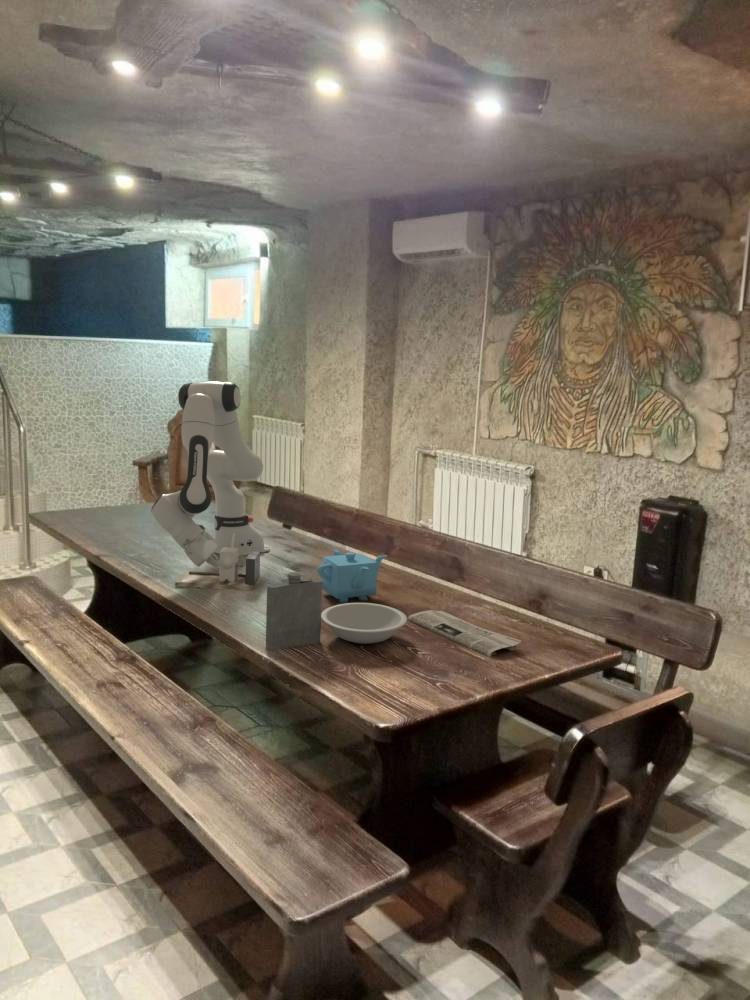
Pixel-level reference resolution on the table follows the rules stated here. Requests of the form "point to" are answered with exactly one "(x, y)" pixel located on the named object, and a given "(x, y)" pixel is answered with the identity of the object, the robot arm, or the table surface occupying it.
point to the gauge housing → (229, 564)
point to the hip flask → (293, 612)
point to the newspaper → (463, 632)
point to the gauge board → (213, 581)
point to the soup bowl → (363, 621)
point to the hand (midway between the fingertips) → (218, 566)
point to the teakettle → (349, 575)
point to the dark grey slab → (252, 568)
